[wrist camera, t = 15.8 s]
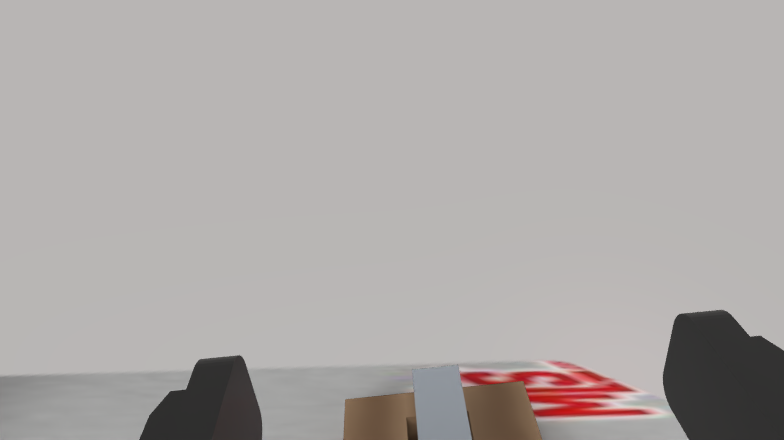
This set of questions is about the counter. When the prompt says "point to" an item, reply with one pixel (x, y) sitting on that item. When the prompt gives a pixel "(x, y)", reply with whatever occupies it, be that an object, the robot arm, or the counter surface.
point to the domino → (440, 404)
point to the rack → (483, 404)
